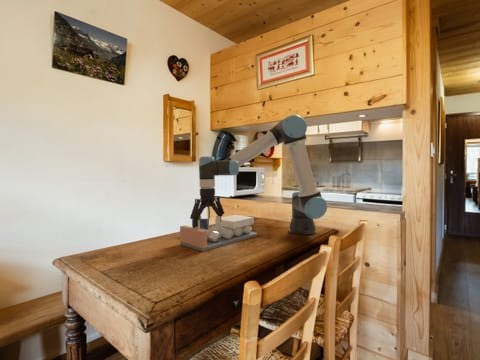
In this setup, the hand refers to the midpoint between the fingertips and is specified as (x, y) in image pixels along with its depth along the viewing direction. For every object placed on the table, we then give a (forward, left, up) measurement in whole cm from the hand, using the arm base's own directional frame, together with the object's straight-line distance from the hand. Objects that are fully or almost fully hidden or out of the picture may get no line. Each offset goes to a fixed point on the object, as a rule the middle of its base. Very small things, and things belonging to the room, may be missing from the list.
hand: (208, 230), depth 134 cm
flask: (+18, -8, -6) cm, 21 cm away
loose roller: (0, 0, -5) cm, 5 cm away
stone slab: (0, -18, 0) cm, 19 cm away
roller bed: (0, -9, -6) cm, 11 cm away
